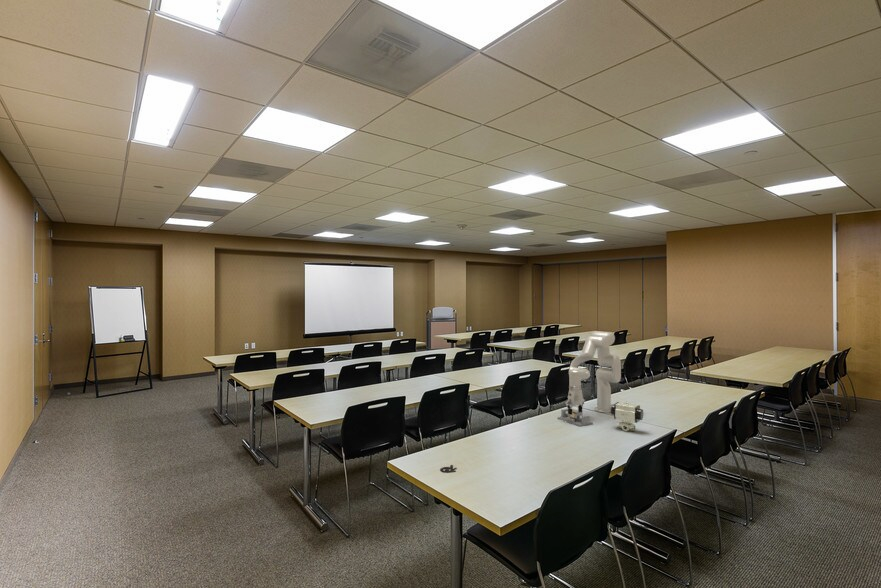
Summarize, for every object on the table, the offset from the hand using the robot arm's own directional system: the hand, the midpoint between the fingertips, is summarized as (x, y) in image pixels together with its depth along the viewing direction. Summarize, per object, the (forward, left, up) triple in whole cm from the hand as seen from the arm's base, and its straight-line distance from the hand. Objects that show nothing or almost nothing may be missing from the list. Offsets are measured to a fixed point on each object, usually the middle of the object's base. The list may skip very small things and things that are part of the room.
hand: (575, 413), depth 287 cm
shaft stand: (0, 0, -6) cm, 6 cm away
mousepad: (+114, +26, -6) cm, 117 cm away
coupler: (0, 0, -5) cm, 5 cm away
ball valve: (-15, +29, -6) cm, 33 cm away
